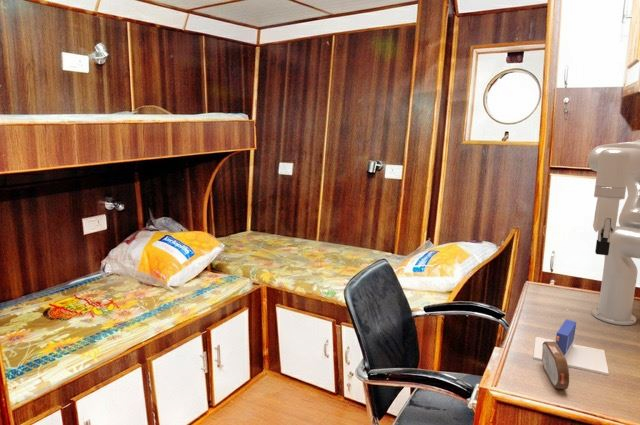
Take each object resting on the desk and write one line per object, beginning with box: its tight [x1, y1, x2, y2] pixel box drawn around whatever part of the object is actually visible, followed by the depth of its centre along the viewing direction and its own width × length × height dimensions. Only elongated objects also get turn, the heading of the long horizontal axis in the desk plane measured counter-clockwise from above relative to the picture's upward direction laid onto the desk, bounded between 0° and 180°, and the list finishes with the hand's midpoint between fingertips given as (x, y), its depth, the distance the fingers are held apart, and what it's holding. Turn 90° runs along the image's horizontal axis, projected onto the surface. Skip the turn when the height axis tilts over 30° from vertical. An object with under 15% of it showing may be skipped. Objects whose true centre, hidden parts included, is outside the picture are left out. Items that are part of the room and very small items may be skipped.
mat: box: [532, 336, 610, 376], centre depth 130 cm, size 14×18×1 cm
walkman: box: [555, 319, 577, 358], centre depth 129 cm, size 8×3×12 cm
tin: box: [541, 340, 570, 390], centre depth 117 cm, size 15×3×8 cm, turn 168°
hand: (601, 254), depth 134 cm, fingers closed
